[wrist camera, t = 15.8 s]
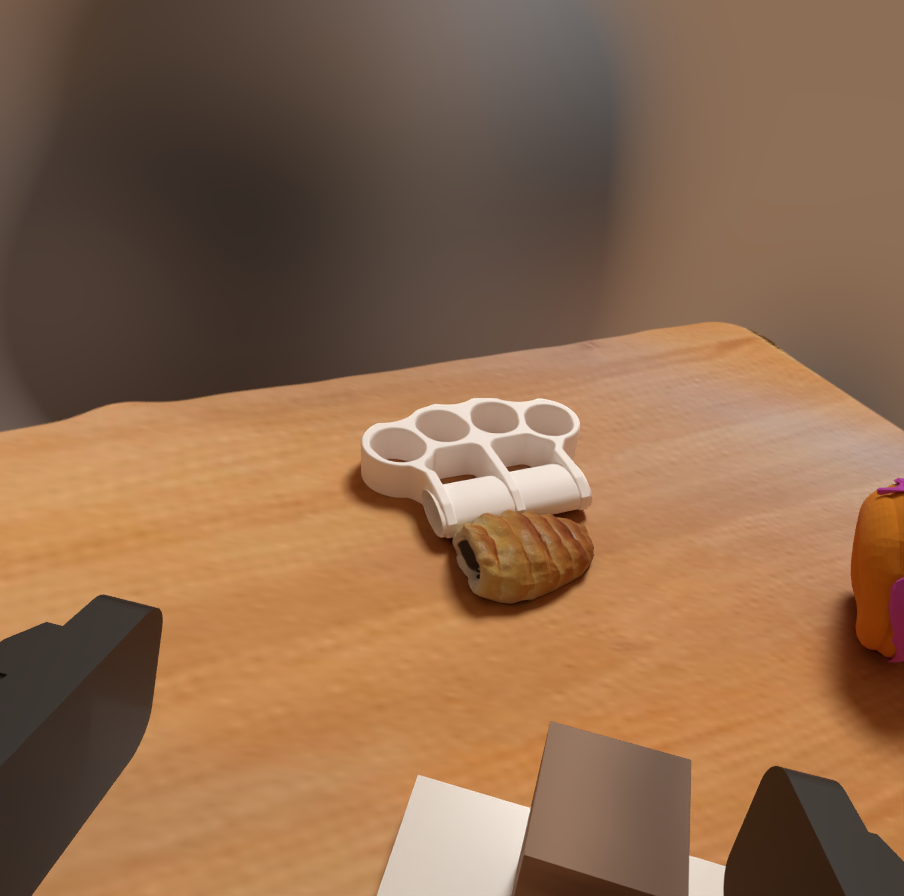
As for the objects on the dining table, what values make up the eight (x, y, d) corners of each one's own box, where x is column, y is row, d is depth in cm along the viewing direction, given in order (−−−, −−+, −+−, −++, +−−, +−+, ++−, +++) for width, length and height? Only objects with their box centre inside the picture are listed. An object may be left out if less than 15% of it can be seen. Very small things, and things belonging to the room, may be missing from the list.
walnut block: (492, 986, 29) (524, 854, 24) (518, 860, 33) (550, 720, 28) (623, 1031, 28) (688, 906, 23) (633, 896, 32) (691, 759, 27)
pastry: (563, 522, 56) (572, 481, 53) (611, 587, 51) (622, 544, 48) (443, 548, 53) (447, 506, 50) (481, 619, 48) (487, 576, 45)
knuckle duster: (398, 560, 52) (343, 441, 63) (625, 511, 58) (539, 410, 68) (399, 523, 50) (342, 407, 61) (634, 475, 56) (544, 378, 67)
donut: (963, 636, 49) (1042, 517, 43) (883, 701, 44) (961, 577, 38) (851, 562, 54) (909, 446, 48) (770, 612, 49) (823, 491, 44)
